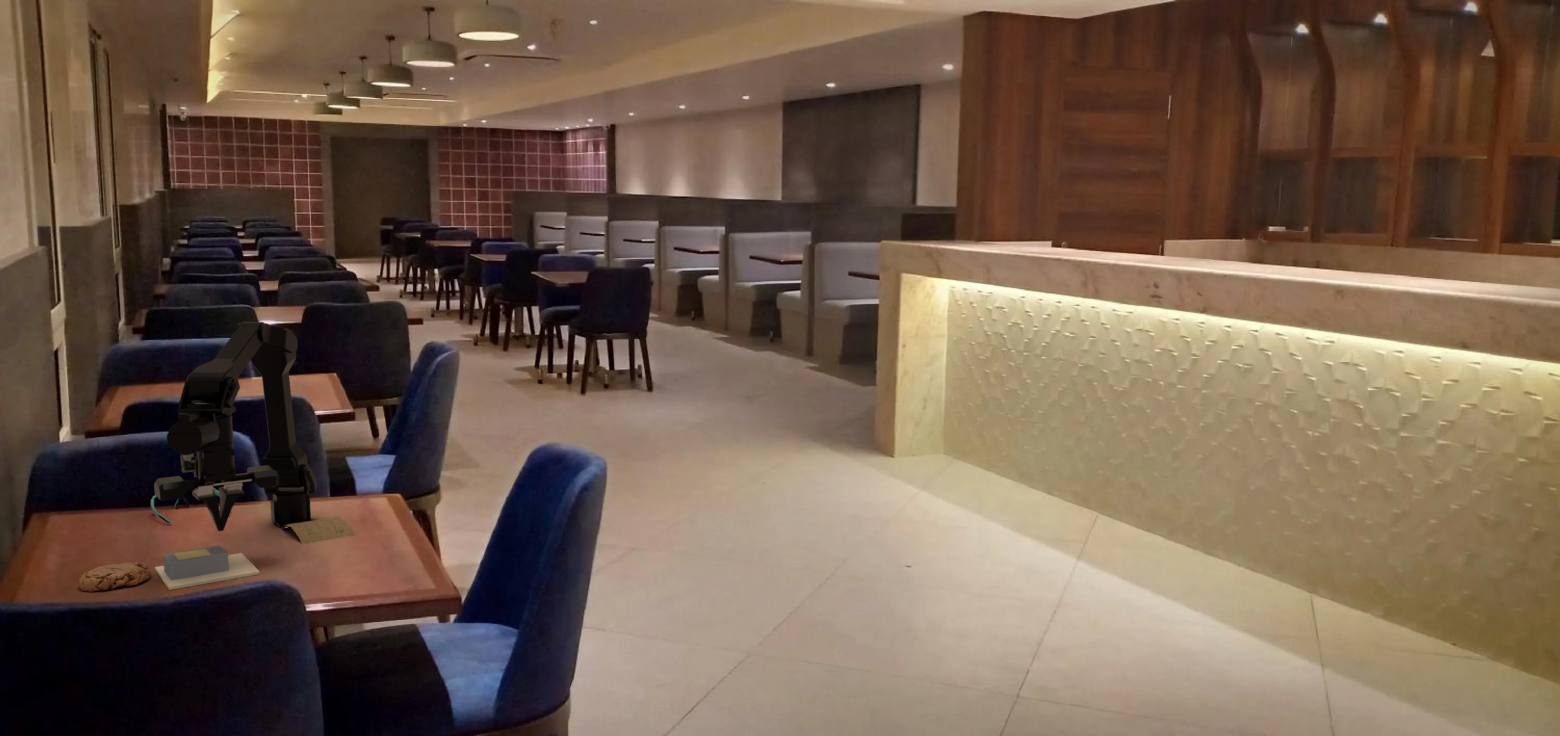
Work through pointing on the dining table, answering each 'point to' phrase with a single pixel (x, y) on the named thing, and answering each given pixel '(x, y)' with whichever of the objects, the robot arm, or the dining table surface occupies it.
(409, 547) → the dining table surface
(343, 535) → the clay tablet
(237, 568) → the placemat
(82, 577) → the cookie
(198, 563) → the blue-grey block
